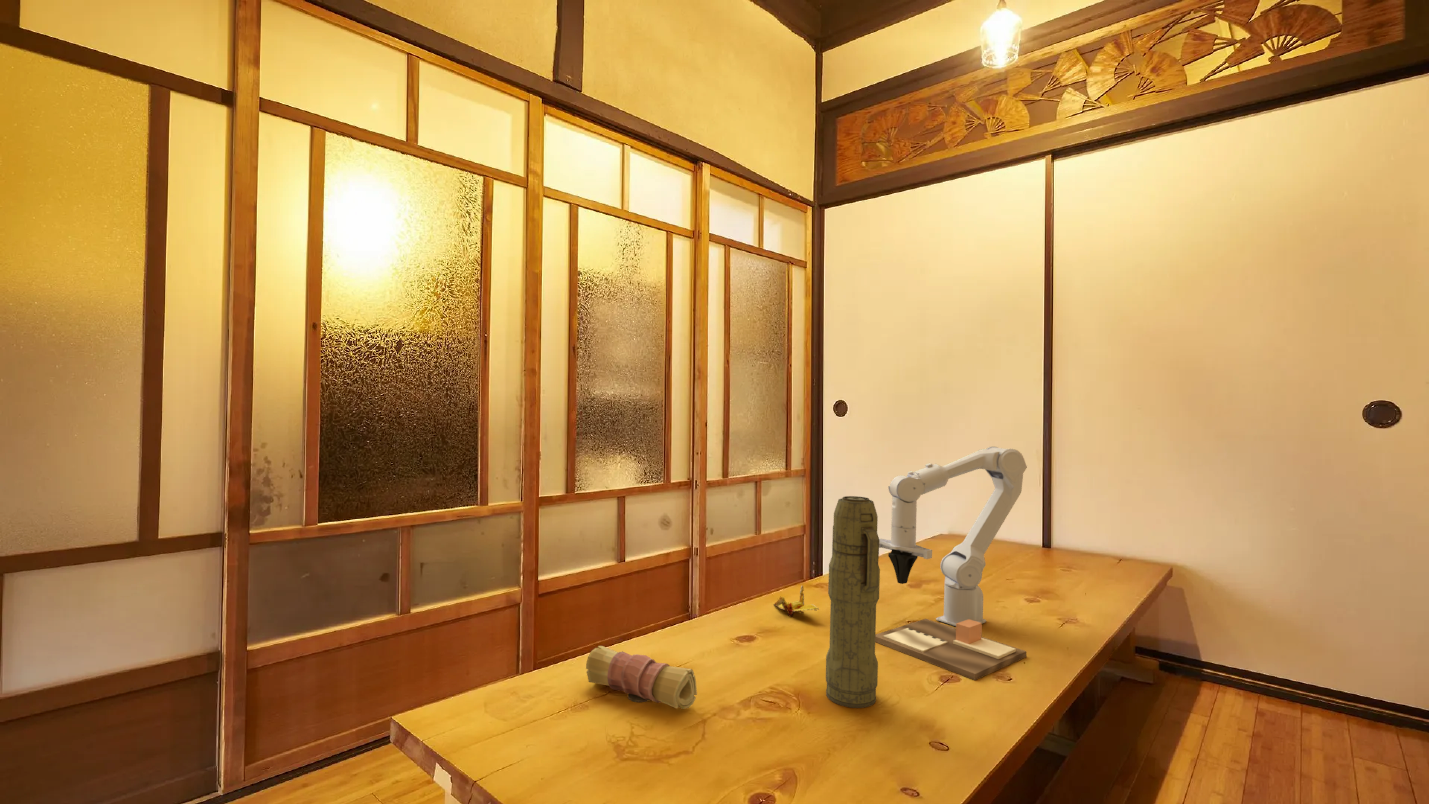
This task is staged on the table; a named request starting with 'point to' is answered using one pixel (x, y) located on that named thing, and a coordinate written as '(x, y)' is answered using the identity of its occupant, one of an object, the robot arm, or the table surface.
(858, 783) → the table surface
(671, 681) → the scroll
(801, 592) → the origami crane
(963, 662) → the board
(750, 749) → the table surface
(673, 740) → the table surface
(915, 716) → the table surface
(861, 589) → the thermos
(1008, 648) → the stub
